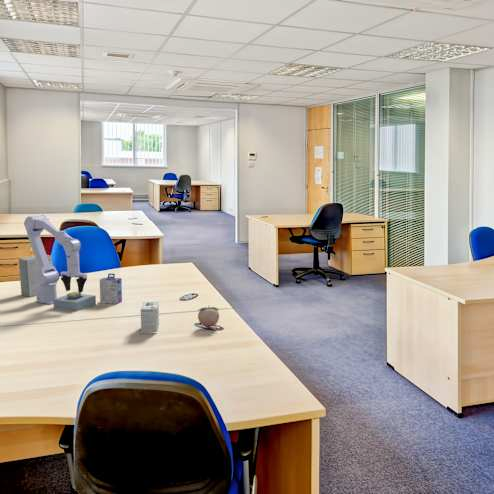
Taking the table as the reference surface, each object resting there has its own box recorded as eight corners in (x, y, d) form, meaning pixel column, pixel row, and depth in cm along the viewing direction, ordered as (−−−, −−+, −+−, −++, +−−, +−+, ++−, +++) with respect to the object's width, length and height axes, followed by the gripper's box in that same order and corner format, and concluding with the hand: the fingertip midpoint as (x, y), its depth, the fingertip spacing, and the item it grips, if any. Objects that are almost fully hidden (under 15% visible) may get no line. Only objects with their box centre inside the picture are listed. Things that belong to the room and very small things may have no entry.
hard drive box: (46, 289, 288) (44, 254, 284) (54, 291, 283) (52, 255, 280) (20, 295, 275) (18, 258, 272) (28, 297, 271) (26, 259, 268)
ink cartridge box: (122, 301, 265) (122, 273, 262) (118, 304, 259) (117, 275, 257) (104, 300, 267) (103, 272, 264) (99, 302, 261) (98, 274, 259)
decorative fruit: (201, 332, 217) (201, 309, 216) (195, 326, 225) (195, 304, 223) (222, 329, 221) (222, 306, 220) (216, 323, 229) (216, 302, 227)
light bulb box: (143, 325, 225) (143, 301, 223) (159, 325, 226) (158, 301, 224) (140, 334, 214) (140, 308, 213) (157, 333, 215) (156, 308, 213)
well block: (53, 307, 252) (53, 299, 251) (73, 300, 264) (73, 292, 264) (77, 311, 246) (76, 302, 246) (95, 303, 259) (95, 295, 259)
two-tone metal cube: (67, 306, 254) (67, 294, 252) (74, 304, 258) (74, 291, 257) (74, 307, 252) (73, 294, 251) (81, 305, 257) (80, 292, 255)
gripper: (55, 264, 251) (56, 291, 253) (79, 267, 246) (80, 294, 248) (65, 262, 257) (66, 288, 260) (89, 264, 252) (90, 291, 254)
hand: (74, 291), depth 254 cm, fingers open, 7 cm apart
